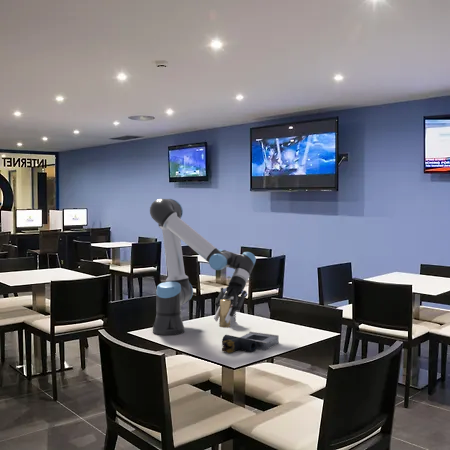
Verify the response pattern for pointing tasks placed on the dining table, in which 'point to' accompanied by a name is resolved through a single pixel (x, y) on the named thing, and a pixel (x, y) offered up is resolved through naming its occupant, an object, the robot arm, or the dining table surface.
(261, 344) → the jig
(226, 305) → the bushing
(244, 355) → the dining table surface
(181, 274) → the robot arm
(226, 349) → the pipe connector
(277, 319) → the dining table surface
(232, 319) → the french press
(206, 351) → the dining table surface
